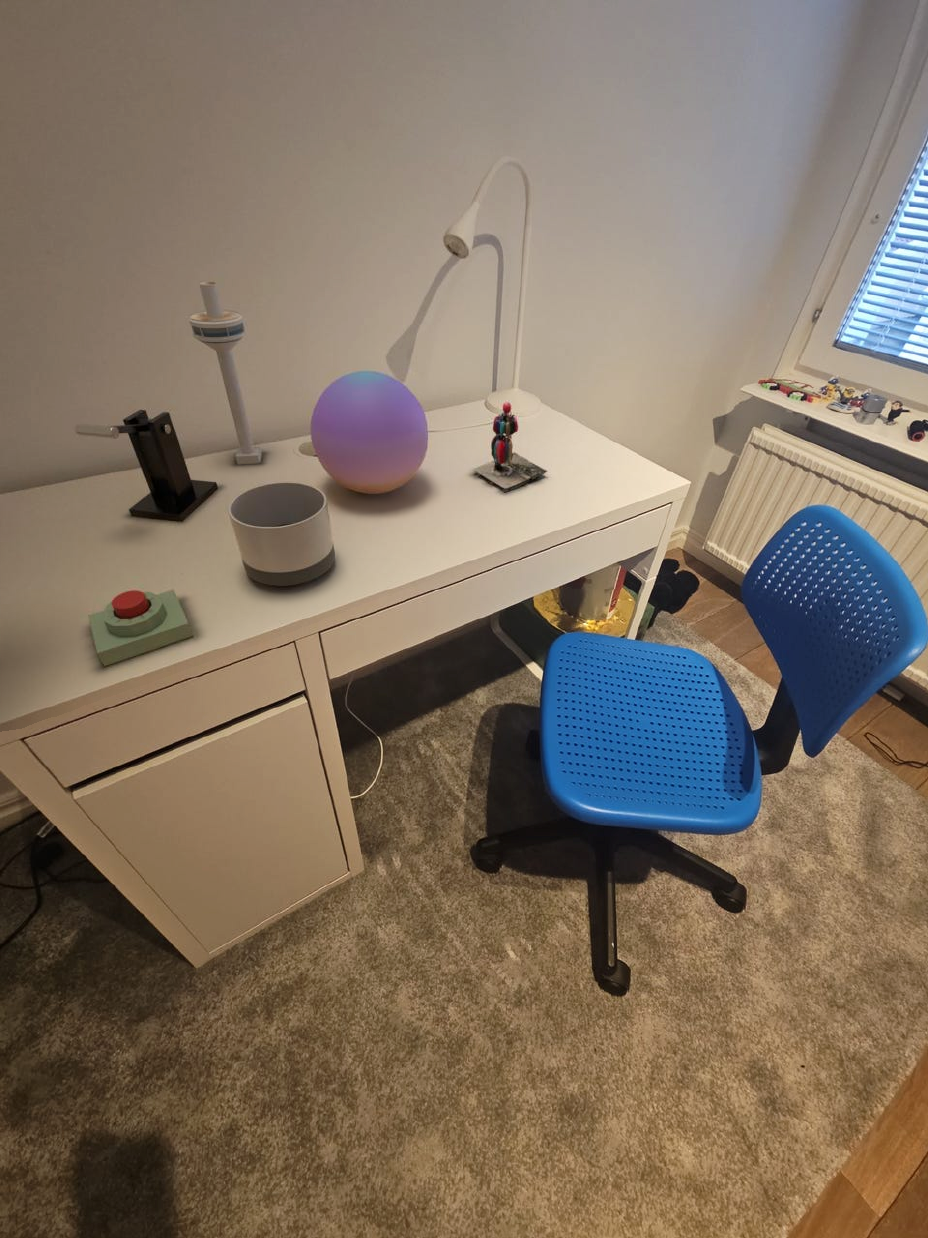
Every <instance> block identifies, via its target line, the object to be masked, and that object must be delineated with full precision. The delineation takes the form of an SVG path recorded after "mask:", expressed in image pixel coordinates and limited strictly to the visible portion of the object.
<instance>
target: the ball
mask: <svg viewBox="0 0 928 1238" xmlns="http://www.w3.org/2000/svg"><path fill="white" fill-rule="evenodd" d="M428 427H429V426H428V420H427V417H426V413H425V411H424V409H423V406H422V405H421V403H420V401H419V399H418V398H417V397H416V396H415V395H414V393H413V392H412V391H411V390H410V389H409V388H408V387H407V385H405V384H404V383H403V382H401V380H398V379H396V378H395V377H393V376H391V375H389V374H386V373H383V372H380V371H379V372H378V371H374V370H360V371H359V370H358V371H353V372H350V373H348V374H345V375H342V376H340V377H339V378H337V379H335V380H333V382H331V383H330V384H329V385H328V386H327V387H326V388H324V389H323V392H322V393H321V394H320V396H319V397H318V400H317V402H316V404H315V407H314V408H313V411H312V414H311V420H310V428H309V429H310V439H311V444H312V447H313V449H314V452H315V454H316V456H317V460H318V462H319V463H320V465H321V467H322V468H323V470H324V471H325V472H326V473H327V474H328V475H329V477H331V478H332V479H333V480H335V481H336V482H337V483H338V484H340V486H342V487H344V488H346V489H348V490H350V491H354V492H356V493H361V494H366V495H380V494H385V493H388V492H391V491H394V490H397V489H399V488H401V487H402V486H404V485H405V484H407V483H408V482H409V481H410V480H411V479H412V478H413V477H414V476H415V475H416V474H417V472H418V471H419V469H420V467H421V466H422V465H423V463H424V461H425V458H426V455H427V451H428V443H429V428H428Z"/></svg>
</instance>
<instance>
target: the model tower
mask: <svg viewBox="0 0 928 1238" xmlns="http://www.w3.org/2000/svg"><path fill="white" fill-rule="evenodd" d="M198 285H199V289H200V292H201V297H202V301H203V305H204V308H205V310H202V311H196V312H193V313H191V314H190V315H189V318H188V321H189V325H190V326H191V329H192V335H193V338H194V339H196V340H197V341H199V342H201V343H202V344H204V345H205V346H207V347H209V348H210V349H211V350H213V351H215V352H216V357H217V360H218V364H219V368H220V373H221V377H222V380H223V384H224V388H225V392H226V396H227V397H226V398H227V401H228V405H229V408H230V413H231V416H232V421H233V424H234V425H233V426H234V428H235V432H236V436H237V440H238V444H239V447H237V450H236V454H235V460H236V464H237V465H254V464H256V465H257V464H261V460H262V455H263V454H262V449H261V446H260V445H259V446H254V442H253V438H252V433H251V430H250V429H251V428H250V425H249V419H248V416H247V412H246V407H245V403H244V399H243V395H242V389H241V385H240V382H239V378H238V373H237V369H236V364H235V359H234V356H233V352H232V350H233V349H234V348H235V347H236V345H238V343H239V342H240V341H241V340H242V339H243V338H244V336H245V335H246V330H245V325H244V321H243V316H242V315H241V313H240V312H238V311H235V310H228V309H223V307H222V305H221V304H222V303H221V299H220V295H219V292H218V287H217V283H216V282H215V281H202V282H199V284H198Z"/></svg>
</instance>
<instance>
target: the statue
mask: <svg viewBox="0 0 928 1238" xmlns="http://www.w3.org/2000/svg"><path fill="white" fill-rule="evenodd" d="M511 411H512V405H511V403H510V402H509V401H504V403H503V404H502V412H501V414H500V413H499V414H498V415H495V416H494V417H493V418H494V419H493V423H492V431H493V433H494V434H495V435H494V437H492V440H491V444H490V448H491V456H492V458H493V460H492V461H490V462H487V463H484V464H481V465H479V466H476V467H475V468H473V471H474V475H476V476H478V477H480V476H483V477H485V478H486V479H487V480H488V483H489V484H490V485H493V484H495V485H498V486H499V487H501V488H503V489H502V491H503V493H504V494H505V493H507V492H510V491H511V490H515V489H517V488H519V487H521V486H523V485H525V484H528V483H529V482H530V483H534V482H536V481H537V480H539V478H540V477H541V476H544V475H545V474H546V473H547V472H548V470H546V469H544V468H543V467H541V466H539V465H537V464H535V463H533V462H532V461H530V460H528V459H527V458H526V457H523V456H521V455H520V454H518V453H517V452H515V451H514V452H513V445H514V444H513V442H512V441H513V440H512V439H513V437H512V435H514V434H515V433H517V432H518V431H519V423H518V418H517V416H516V415H515V414H512V415H511Z"/></svg>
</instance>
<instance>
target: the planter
mask: <svg viewBox="0 0 928 1238" xmlns="http://www.w3.org/2000/svg"><path fill="white" fill-rule="evenodd" d="M227 512H228V516H229V519H230V523H231V527H232V530H233V534H234V537H235V540H236V544H237V547H238V550H239V555H240V558H241V561H242V564H243V568H244V571H245V573H246V575H247V576H249V577H250V578H251V579H252V580H253V581H255V582H258V583H261V584H263V585H269V586H277V587H279V586H280V587H285V586H287V587H288V586H295V585H300V584H304V583H307V582H310V581H312V580H314V579H316V578H318V577H320V576H322V575H324V574H325V573H326V572H327V571H328V570H329V569H330V568H331V567H332V566H333V564H334V563H335V557H336V552H335V546H334V539H333V532H332V526H331V519H330V513H329V506H328V499H327V496H326V494H325V493H324V492H323V490H321V489H320V488H318V487H316V486H314V485H311V484H308V483H304V482H297V481H276V482H275V481H274V482H268V483H264V484H260V485H257V486H253V487H251V488H248V489H246V490H244V491H242V492H241V493H239V494H237V495H236V496H235V497H234V498H233V499H232V500H231V502H229V504H228V507H227Z"/></svg>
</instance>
